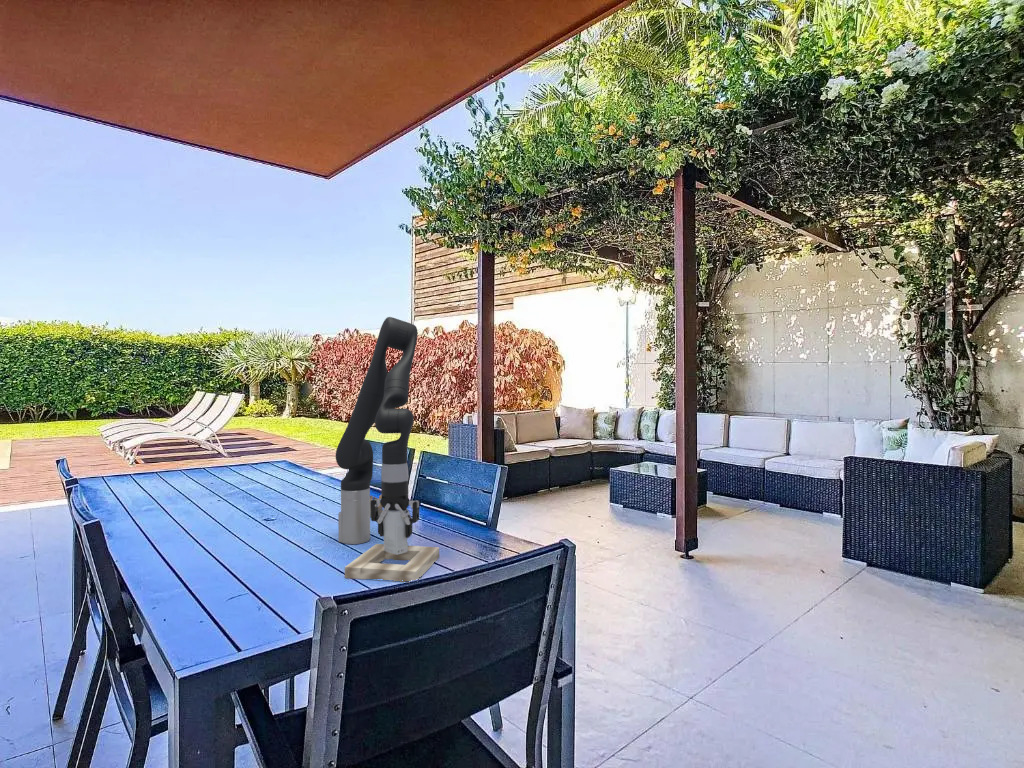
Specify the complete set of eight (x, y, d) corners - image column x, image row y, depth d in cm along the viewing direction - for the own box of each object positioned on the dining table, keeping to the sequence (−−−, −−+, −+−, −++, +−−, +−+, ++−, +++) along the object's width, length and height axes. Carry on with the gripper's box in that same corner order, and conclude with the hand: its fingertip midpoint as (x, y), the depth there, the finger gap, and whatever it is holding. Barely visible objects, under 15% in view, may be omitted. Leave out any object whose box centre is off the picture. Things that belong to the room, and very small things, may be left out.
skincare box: (408, 552, 163) (408, 509, 163) (395, 555, 160) (395, 512, 160) (395, 547, 168) (394, 506, 167) (382, 551, 164) (382, 509, 164)
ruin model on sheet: (383, 521, 215) (383, 495, 214) (376, 522, 213) (375, 496, 213) (373, 515, 224) (373, 490, 224) (365, 516, 222) (365, 491, 222)
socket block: (344, 578, 155) (344, 567, 155) (376, 553, 176) (376, 543, 176) (415, 582, 152) (415, 571, 152) (439, 557, 172) (439, 547, 172)
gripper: (365, 480, 161) (366, 539, 161) (414, 482, 158) (415, 541, 159) (376, 475, 168) (376, 531, 169) (423, 477, 166) (423, 533, 166)
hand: (395, 536), depth 164 cm, fingers closed on skincare box, 7 cm apart
